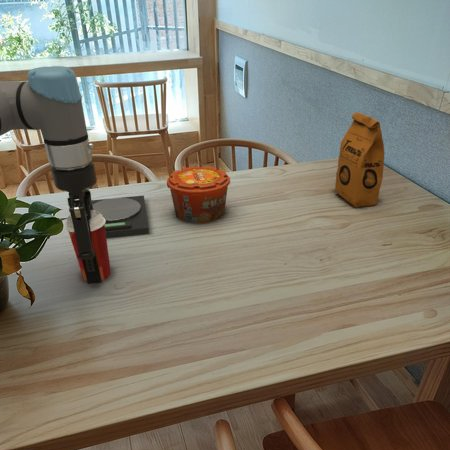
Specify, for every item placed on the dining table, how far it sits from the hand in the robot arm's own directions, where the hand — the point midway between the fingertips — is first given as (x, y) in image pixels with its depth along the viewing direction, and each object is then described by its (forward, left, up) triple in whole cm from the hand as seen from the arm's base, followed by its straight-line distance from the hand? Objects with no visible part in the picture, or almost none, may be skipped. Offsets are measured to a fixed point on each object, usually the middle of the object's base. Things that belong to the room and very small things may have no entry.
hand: (95, 269), depth 94 cm
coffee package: (+70, +25, -2) cm, 74 cm away
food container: (+26, +25, -2) cm, 36 cm away
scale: (+4, +26, -2) cm, 26 cm away
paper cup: (0, 0, -2) cm, 2 cm away
